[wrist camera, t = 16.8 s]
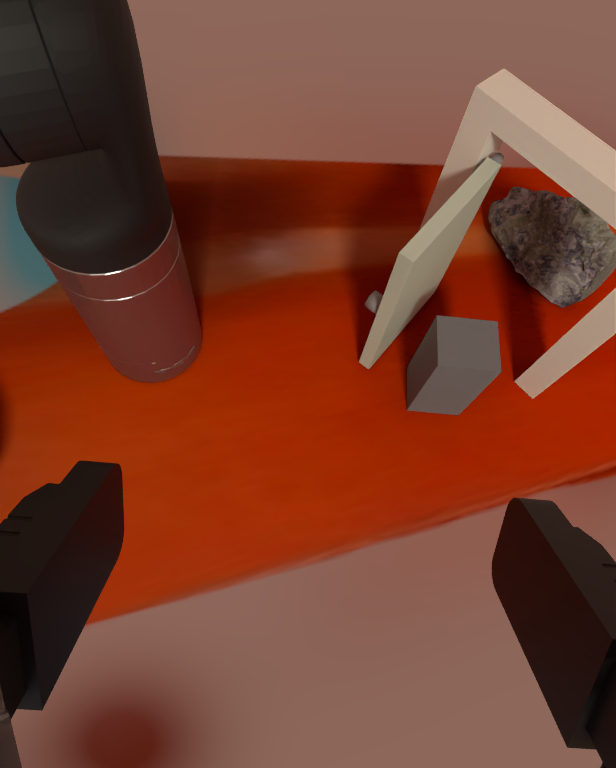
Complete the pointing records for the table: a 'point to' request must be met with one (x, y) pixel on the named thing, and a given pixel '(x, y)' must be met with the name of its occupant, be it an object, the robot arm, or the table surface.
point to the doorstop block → (453, 365)
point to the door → (425, 261)
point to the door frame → (558, 161)
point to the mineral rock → (554, 243)
